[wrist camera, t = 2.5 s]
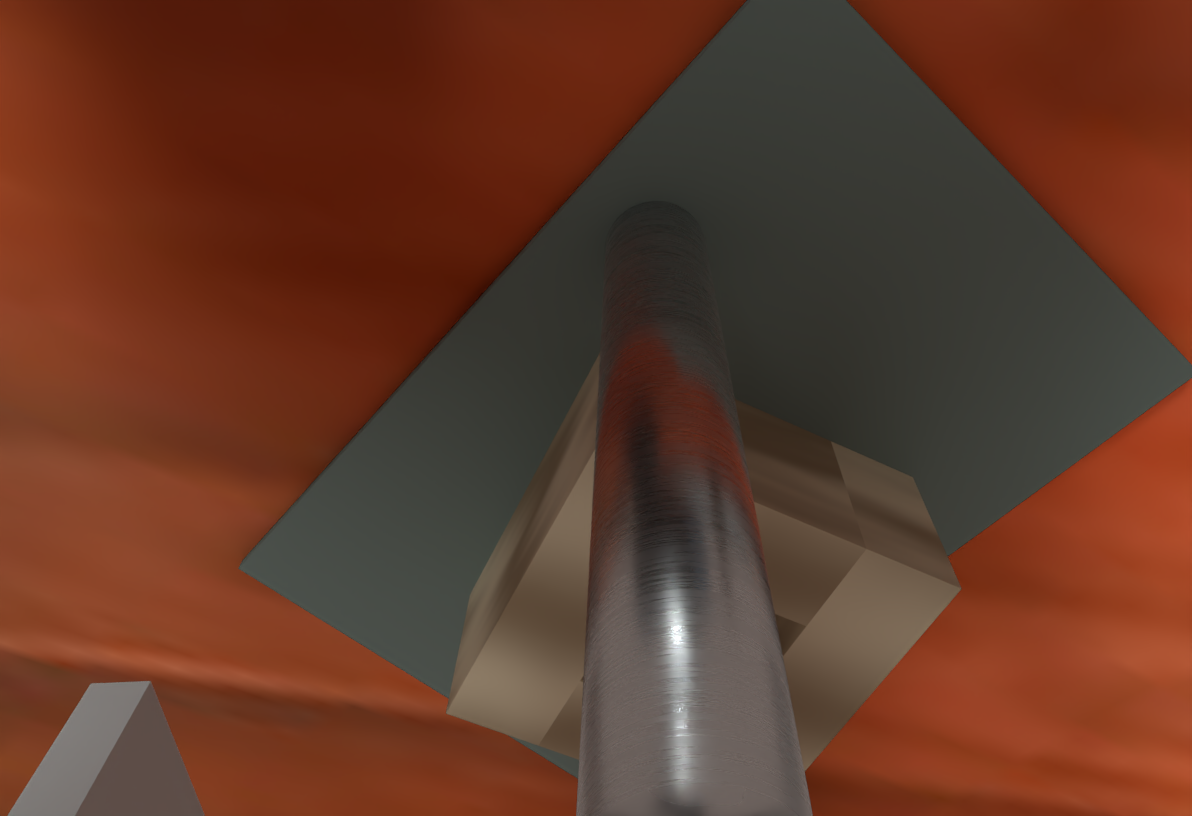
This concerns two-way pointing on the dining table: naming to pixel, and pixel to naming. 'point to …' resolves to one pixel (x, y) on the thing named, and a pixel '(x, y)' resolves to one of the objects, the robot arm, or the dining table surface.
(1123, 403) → the felt mat
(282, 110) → the dining table surface
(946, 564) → the wooden square socket block
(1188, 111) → the dining table surface
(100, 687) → the robot arm
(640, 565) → the metal peg
